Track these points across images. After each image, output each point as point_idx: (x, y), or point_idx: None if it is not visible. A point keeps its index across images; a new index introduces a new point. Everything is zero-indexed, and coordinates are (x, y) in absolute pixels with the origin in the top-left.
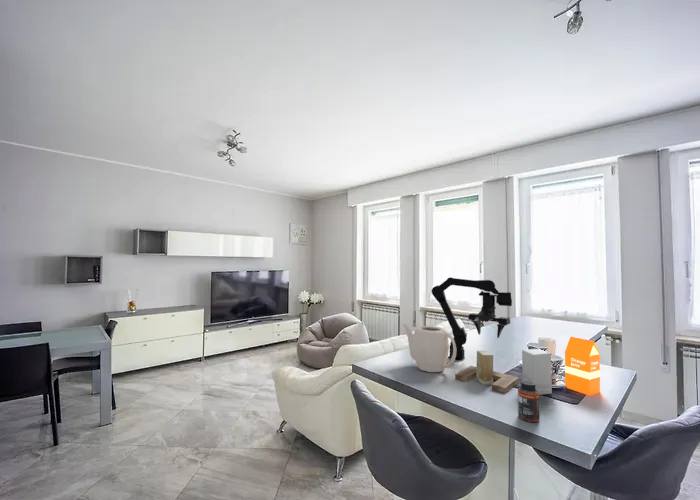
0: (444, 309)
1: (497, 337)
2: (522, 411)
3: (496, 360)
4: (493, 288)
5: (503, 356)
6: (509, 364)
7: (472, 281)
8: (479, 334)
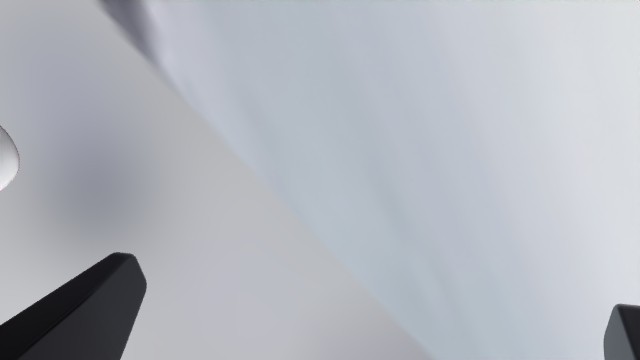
0: None
1: (126, 256)
2: None
3: (382, 160)
4: None
5: (390, 308)
6: (235, 123)
7: None
8: (614, 306)
